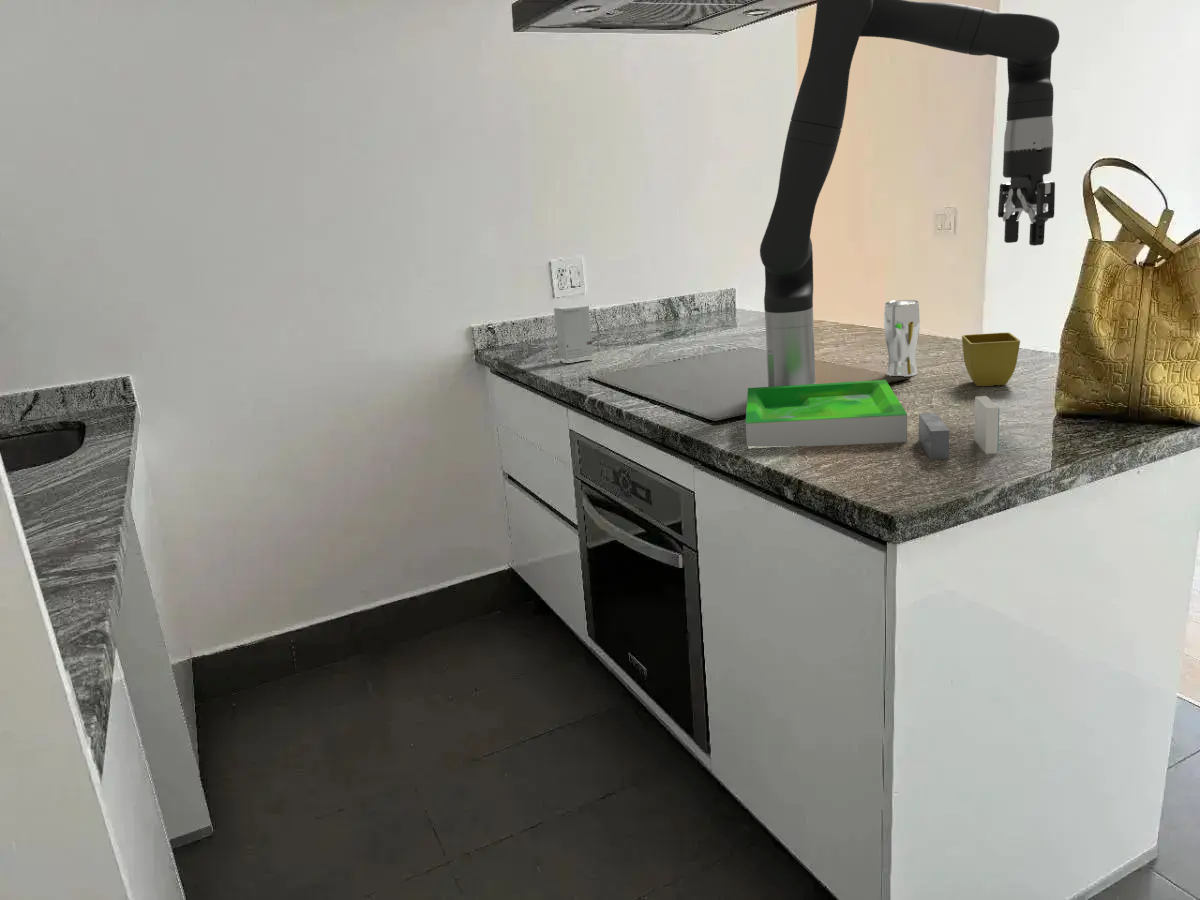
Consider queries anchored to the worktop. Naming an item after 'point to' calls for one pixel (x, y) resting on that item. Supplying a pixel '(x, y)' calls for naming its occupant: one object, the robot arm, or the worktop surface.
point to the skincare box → (573, 331)
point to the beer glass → (902, 336)
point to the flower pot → (990, 357)
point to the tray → (825, 414)
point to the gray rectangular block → (934, 436)
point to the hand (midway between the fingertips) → (1023, 243)
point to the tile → (986, 424)
